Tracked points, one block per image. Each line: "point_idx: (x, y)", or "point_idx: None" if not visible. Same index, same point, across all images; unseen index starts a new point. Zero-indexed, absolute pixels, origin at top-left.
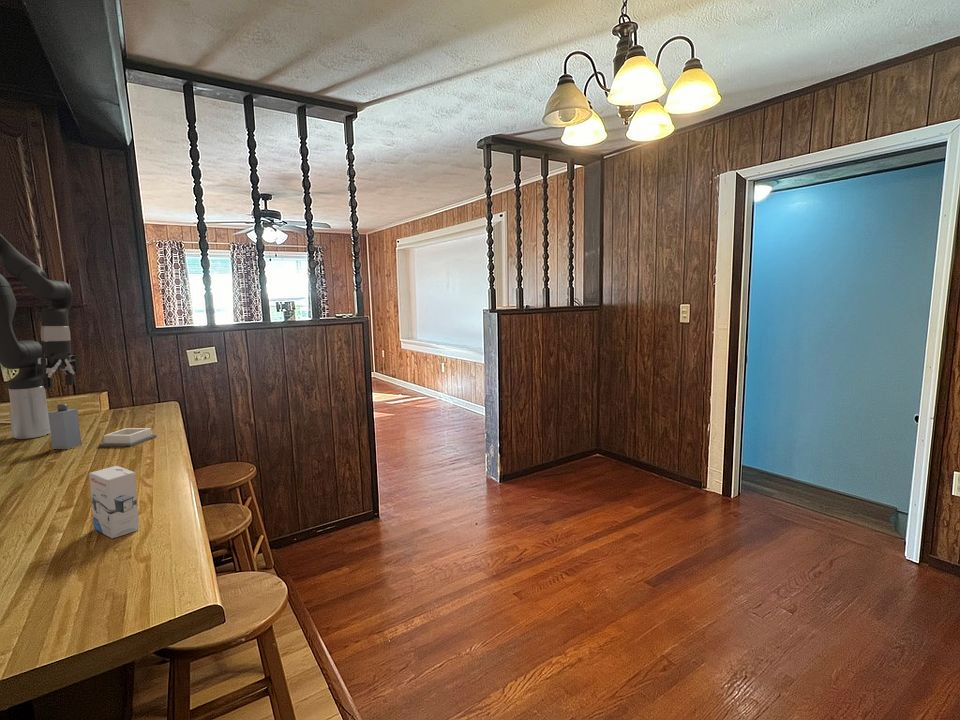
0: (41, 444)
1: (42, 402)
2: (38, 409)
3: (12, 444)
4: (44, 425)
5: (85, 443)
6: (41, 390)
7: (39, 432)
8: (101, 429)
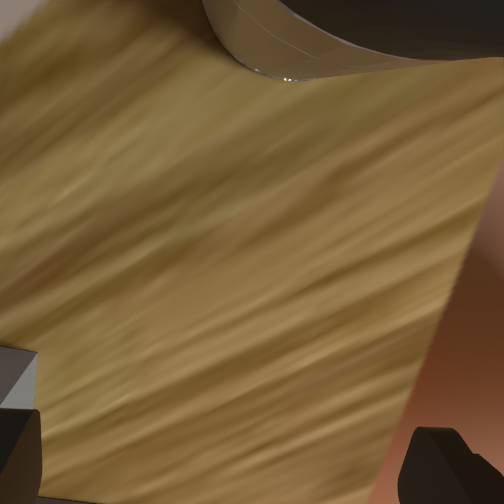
0: (62, 204)
1: (332, 71)
2: (270, 58)
3: (75, 3)
4: (283, 77)
5: (65, 412)
6: (391, 65)
7: (243, 63)
8: (358, 322)
